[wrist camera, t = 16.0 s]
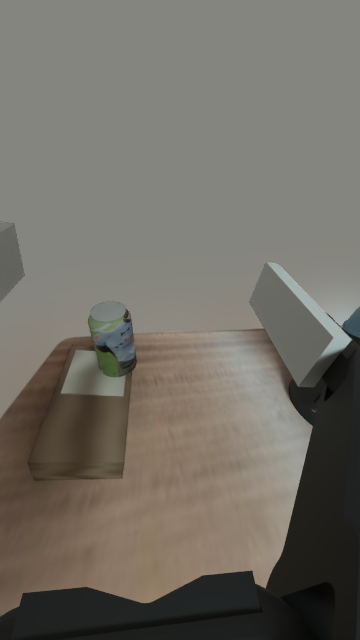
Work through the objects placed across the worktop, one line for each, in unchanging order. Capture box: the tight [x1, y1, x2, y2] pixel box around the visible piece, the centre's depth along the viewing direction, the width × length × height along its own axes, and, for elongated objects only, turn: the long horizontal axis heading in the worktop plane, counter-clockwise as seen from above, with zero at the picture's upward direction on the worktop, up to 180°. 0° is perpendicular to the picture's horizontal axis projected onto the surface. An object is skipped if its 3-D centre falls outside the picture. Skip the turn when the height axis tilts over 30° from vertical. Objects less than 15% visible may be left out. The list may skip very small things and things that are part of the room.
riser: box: [28, 345, 132, 480], centre depth 39 cm, size 11×20×5 cm, turn 5°
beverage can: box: [88, 301, 137, 377], centre depth 38 cm, size 6×7×12 cm
